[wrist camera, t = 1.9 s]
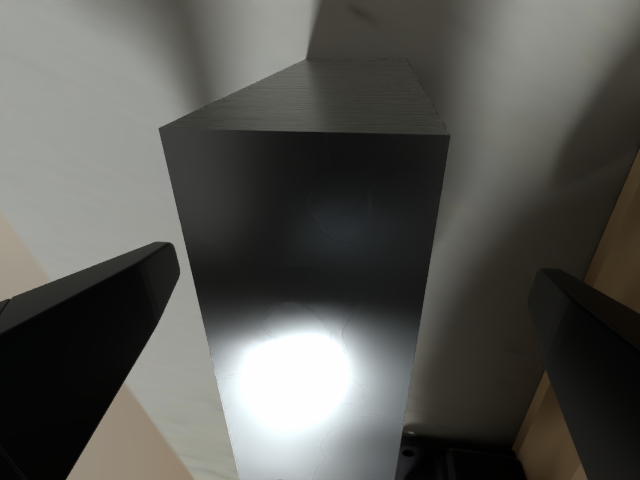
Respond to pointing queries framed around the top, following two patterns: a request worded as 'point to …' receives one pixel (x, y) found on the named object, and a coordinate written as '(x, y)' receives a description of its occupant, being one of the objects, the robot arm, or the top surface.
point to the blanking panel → (312, 258)
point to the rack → (544, 412)
